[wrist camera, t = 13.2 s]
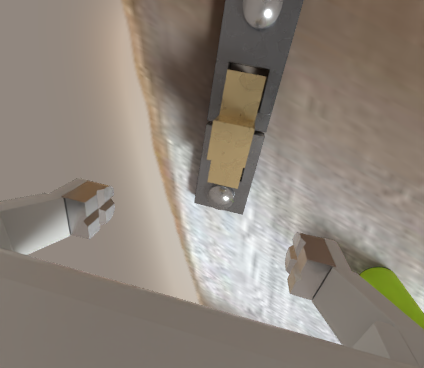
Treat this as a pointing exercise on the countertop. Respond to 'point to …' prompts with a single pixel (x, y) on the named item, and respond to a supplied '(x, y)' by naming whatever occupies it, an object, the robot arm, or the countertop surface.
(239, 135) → the tan bridge piece
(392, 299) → the soap dispenser
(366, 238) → the countertop surface
